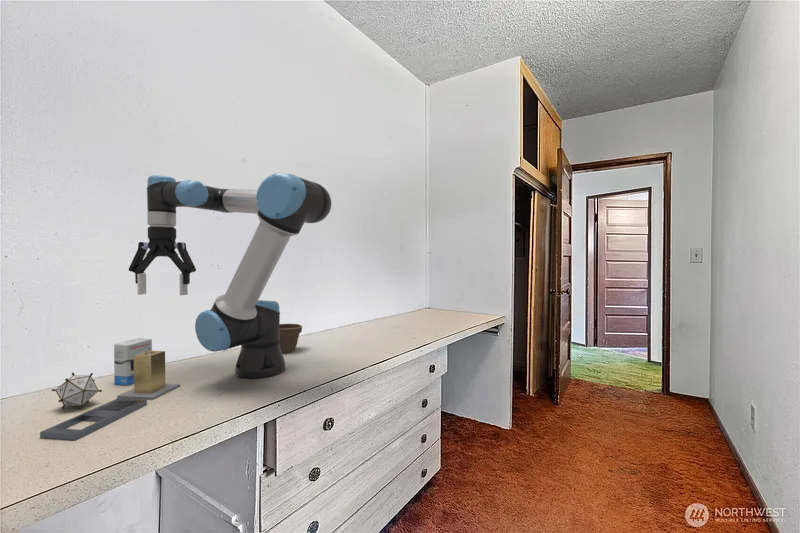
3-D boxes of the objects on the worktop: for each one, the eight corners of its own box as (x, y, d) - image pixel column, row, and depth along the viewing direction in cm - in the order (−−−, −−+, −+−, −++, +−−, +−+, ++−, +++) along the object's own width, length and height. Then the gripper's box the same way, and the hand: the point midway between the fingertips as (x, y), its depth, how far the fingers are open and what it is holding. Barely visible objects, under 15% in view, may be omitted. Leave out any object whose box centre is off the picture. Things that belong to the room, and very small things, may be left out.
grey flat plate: (146, 404, 91) (146, 399, 91) (75, 440, 73) (75, 434, 73) (117, 403, 92) (117, 398, 92) (40, 438, 74) (40, 431, 74)
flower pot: (307, 348, 148) (307, 323, 148) (292, 356, 137) (292, 329, 137) (281, 347, 150) (281, 322, 150) (265, 354, 139) (265, 327, 139)
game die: (74, 425, 88) (48, 402, 82) (62, 405, 92) (36, 382, 86) (114, 398, 94) (93, 374, 88) (101, 380, 98) (80, 357, 92)
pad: (179, 386, 104) (179, 384, 104) (152, 399, 94) (152, 397, 94) (147, 384, 105) (147, 382, 105) (117, 397, 96) (117, 395, 96)
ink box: (127, 385, 105) (127, 344, 104) (113, 384, 106) (112, 344, 105) (153, 376, 113) (152, 338, 113) (140, 375, 114) (139, 337, 114)
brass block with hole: (165, 386, 102) (165, 350, 102) (151, 393, 97) (150, 355, 97) (149, 386, 103) (148, 350, 102) (134, 392, 98) (133, 355, 98)
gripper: (207, 227, 117) (208, 293, 118) (133, 227, 119) (134, 292, 119) (193, 225, 110) (193, 296, 111) (114, 225, 111) (114, 295, 112)
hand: (162, 294), depth 115 cm, fingers open, 13 cm apart
